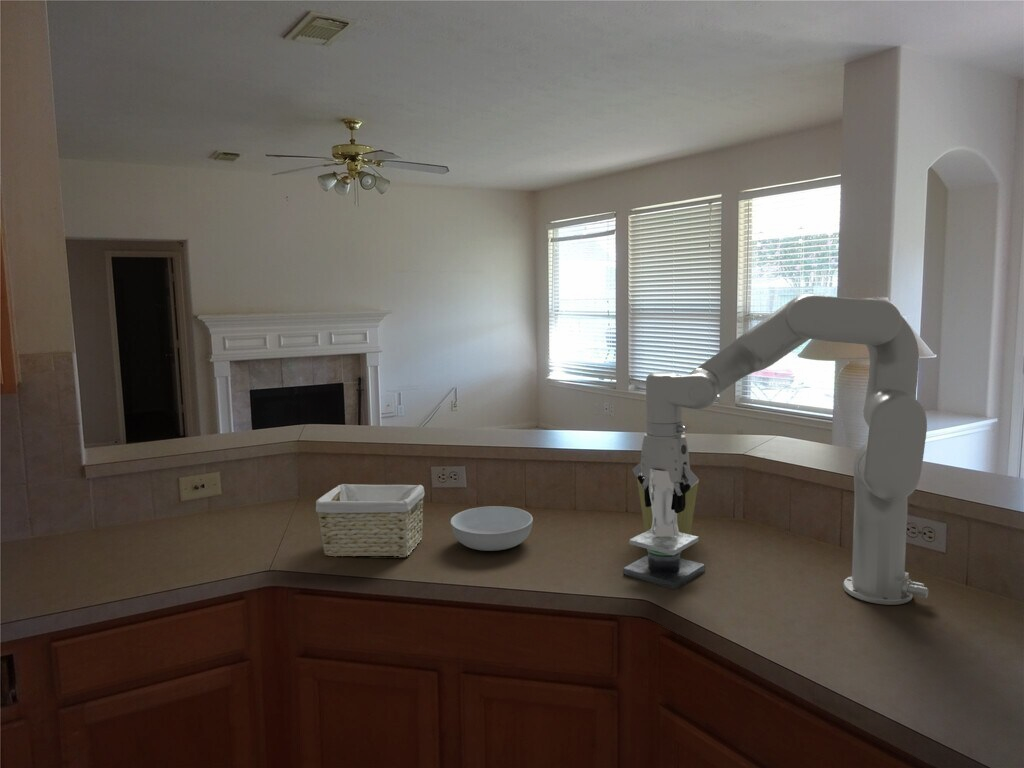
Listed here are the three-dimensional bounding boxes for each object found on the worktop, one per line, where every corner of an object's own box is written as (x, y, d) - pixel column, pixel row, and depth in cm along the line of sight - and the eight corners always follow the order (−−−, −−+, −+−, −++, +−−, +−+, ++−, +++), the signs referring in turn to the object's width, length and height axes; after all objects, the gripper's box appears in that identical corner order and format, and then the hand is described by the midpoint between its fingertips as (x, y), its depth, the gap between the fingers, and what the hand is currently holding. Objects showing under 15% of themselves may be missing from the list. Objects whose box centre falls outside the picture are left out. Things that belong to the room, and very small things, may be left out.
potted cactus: (701, 546, 174) (702, 426, 170) (638, 544, 176) (637, 426, 172) (695, 525, 189) (696, 414, 185) (637, 524, 191) (636, 415, 187)
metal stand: (704, 570, 159) (704, 536, 158) (674, 589, 149) (674, 553, 148) (654, 557, 168) (654, 524, 166) (623, 574, 158) (622, 540, 157)
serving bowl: (440, 557, 172) (438, 530, 171) (465, 528, 192) (464, 504, 191) (523, 562, 167) (522, 534, 166) (540, 532, 187) (540, 507, 186)
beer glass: (681, 538, 153) (681, 471, 151) (648, 537, 154) (647, 470, 153) (680, 528, 160) (680, 463, 158) (649, 527, 161) (648, 463, 159)
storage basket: (316, 558, 174) (312, 500, 172) (342, 536, 190) (338, 482, 188) (410, 561, 170) (407, 502, 168) (428, 538, 186) (426, 483, 184)
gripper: (708, 430, 151) (708, 511, 153) (639, 422, 163) (640, 498, 165) (691, 436, 146) (691, 520, 148) (620, 427, 157) (622, 505, 160)
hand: (664, 507), depth 156 cm, fingers closed on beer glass, 6 cm apart
